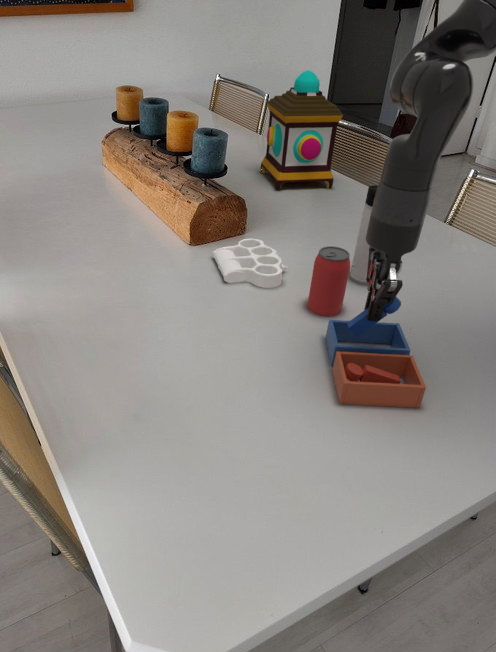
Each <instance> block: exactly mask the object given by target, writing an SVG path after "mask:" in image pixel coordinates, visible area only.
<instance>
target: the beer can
mask: <svg viewBox="0 0 496 652" xmlns="http://www.w3.org/2000/svg"><path fill="white" fill-rule="evenodd" d="M350 256H351V254H350V252H349V251H348V250H346V248H342V247H340V246H323V247H321V248H320V249H319V250H318V254H317V255H316V257H315V259H314V261H313V268H312V275H311V279H310V285H309V286H310V287H309V292H308V297H307V299H308V300H307V308H308V310H309V311H310V312H311V313H313V314H315V315H318V316H321V317H334V316H337V315H338V314H340V313H341V311H342V309H343V304H344V299H345V295H346V290H347V285H348V281H349V277H350V272H351V260H350V259H351V258H350Z"/></svg>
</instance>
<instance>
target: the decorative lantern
mask: <svg viewBox="0 0 496 652" xmlns="http://www.w3.org/2000/svg"><path fill="white" fill-rule="evenodd" d="M320 84H321V83H320V79H319V78H318V76H317V75H316V73H315V72H314V71H312V70H309V69H307V70H304V71H302V72H301V73H300V74H299V75H298V76H297V77H296V78H295V80H294V83H293V86H291V87H290V88H289V90H286V92H285V93H282V94H281V95H274V96H273V97H272V98H270V99H269V100H268V101H266V103H267V108H268V111H269V118H268V120H269V121H268V129H267V134H266V151H265V156H264V157H263V159H262V161H261V162H260V173H261V174H266V172H267V173H268V174H269V175H270V177H271V178H273V180H274V181H275V191H277V192H280V191H281V190H282V189H281V188H282V187H283V186H282V185H283V184H288V183H289V184H290V183H312V182H313V183H314V182H326V189H329V190H330V189H331V190H332V188H333V185H334V176H333V172H332V162H333V161H332V160H333V155H334V149H335V142H336V136H337V130H338V126H339V123H340V121H341V120H342V118H343V116H344V114H343V113H342V112H341V111H342V110H341V109H340V108H338V105H336V104H335V103H333V102H331V101H329V100H328V99H327V98H326V96H325V95H323V91H321V90H320ZM261 169H262V170H261Z"/></svg>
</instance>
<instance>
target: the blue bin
mask: <svg viewBox="0 0 496 652" xmlns="http://www.w3.org/2000/svg"><path fill="white" fill-rule="evenodd" d="M349 321H350V320H341V319H329V320H328V323H327V329H326V334H325V338H324V339H325V343H326V348H327V352H328V353H327V354H328V357H329V362H330V366H331V367H333V365H334V361H335V356H336V352H337V351H338V352H357V353H376V354H395V355H410V354H411V347H410V345H409V343H408V340H407V338H406V337H405V336H406V335H405V334H404V331H403V329H402V327H401V324H400V322H399V323H398V322H396V323H395V322H380V321H378V322H377V323H376V324H374V325H373V326H371V327H370V328H369V329H367V330H366V331H364V332H363V333H362V334H360V335H359V336H356V335H355V334H354V333H353V332H352V331H351V330H350V329H349V327H348V324H347V323H348V322H349ZM339 342H348V343H367V344H384V345H385V344H386V345H387V344H388V345H391V347H389V346H385V347H384V346H371V345H370V346H367V345H349V344H339Z"/></svg>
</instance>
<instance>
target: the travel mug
mask: <svg viewBox="0 0 496 652" xmlns="http://www.w3.org/2000/svg"><path fill="white" fill-rule="evenodd" d="M378 186H379V185H369V186H368V189H367V192H366V198H365V201H364V206H363V210H362V214H361V215H362V217H361V219H360V223H359V230H358V235H357V239H356V244H355V249H354V253H353V258H352V264H351V266H350V271H349V279H350V280H351V281H352V282H354V283H356V284H358V285H362V286H368V284H369V283H367V280H366V278H367V269H368V258H369V248H370V246H369V245H368V243H367V242H366V234H367V229H368V225H369V220H370V216H371V212H372V207H373V203H374V198H375V194H376V191H377V189H378Z"/></svg>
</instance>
